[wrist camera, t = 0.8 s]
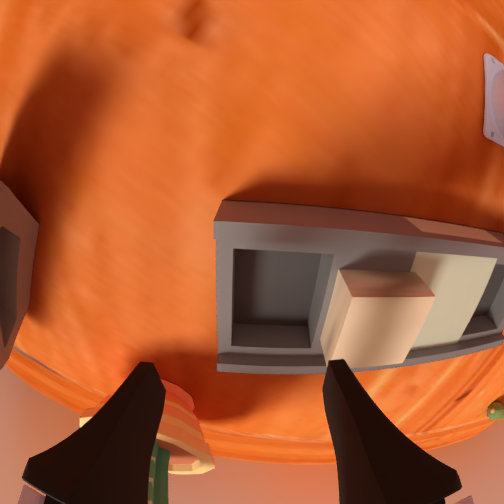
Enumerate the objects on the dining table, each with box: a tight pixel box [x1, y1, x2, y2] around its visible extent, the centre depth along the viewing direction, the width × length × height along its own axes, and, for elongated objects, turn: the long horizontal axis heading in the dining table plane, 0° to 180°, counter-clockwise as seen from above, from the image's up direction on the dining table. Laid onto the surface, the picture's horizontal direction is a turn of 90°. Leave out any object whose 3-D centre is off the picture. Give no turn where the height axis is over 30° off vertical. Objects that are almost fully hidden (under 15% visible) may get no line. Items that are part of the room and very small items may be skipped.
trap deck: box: [214, 200, 504, 374], centre depth 19 cm, size 32×12×4 cm, turn 87°
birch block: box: [320, 269, 436, 368], centre depth 17 cm, size 6×6×3 cm
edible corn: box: [487, 402, 504, 420], centre depth 37 cm, size 5×20×5 cm
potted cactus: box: [80, 379, 215, 504], centre depth 17 cm, size 15×15×25 cm
